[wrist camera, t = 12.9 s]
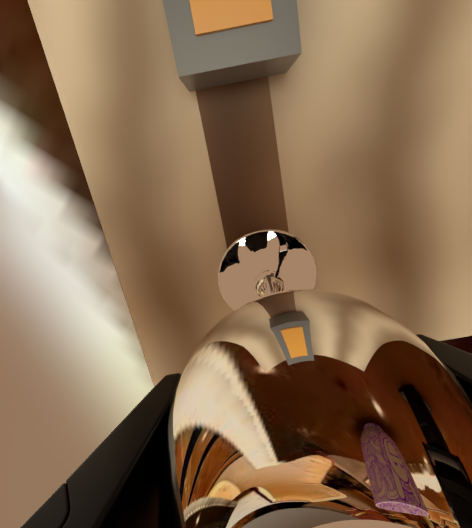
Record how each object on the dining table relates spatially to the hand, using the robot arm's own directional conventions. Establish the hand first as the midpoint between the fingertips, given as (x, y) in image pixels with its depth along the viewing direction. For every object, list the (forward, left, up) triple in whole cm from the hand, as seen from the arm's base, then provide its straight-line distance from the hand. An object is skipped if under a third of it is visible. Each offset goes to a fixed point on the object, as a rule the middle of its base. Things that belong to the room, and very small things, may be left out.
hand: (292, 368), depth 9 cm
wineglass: (0, 0, -7) cm, 7 cm away
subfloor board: (-3, -5, -9) cm, 11 cm away
